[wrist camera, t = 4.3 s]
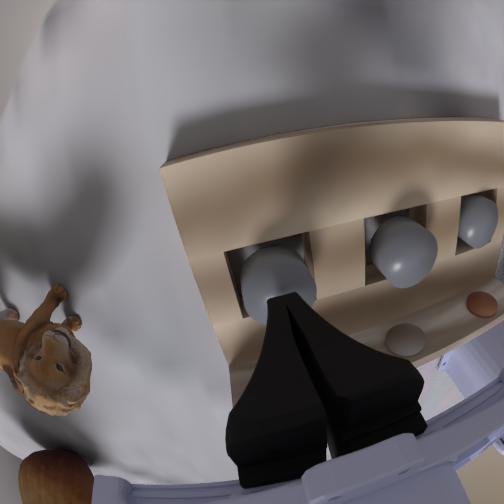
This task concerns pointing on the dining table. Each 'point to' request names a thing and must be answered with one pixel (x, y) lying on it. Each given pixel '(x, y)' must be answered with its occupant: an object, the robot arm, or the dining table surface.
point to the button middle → (403, 251)
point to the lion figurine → (46, 357)
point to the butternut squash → (55, 478)
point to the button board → (347, 229)
